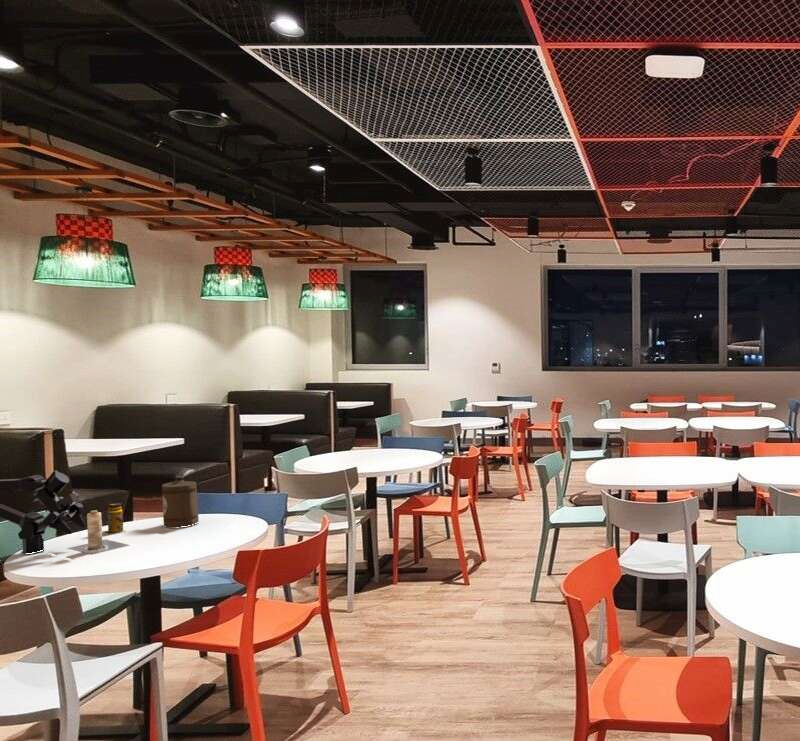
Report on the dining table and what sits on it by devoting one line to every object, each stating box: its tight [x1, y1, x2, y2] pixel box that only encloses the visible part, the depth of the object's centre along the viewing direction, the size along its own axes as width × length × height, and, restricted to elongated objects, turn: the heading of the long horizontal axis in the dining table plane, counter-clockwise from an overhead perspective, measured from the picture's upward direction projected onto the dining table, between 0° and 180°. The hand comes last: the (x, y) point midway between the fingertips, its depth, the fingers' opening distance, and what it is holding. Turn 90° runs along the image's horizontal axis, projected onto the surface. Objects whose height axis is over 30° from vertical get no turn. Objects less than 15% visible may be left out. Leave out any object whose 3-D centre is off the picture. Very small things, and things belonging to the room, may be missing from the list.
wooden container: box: [161, 474, 199, 528], centre depth 325 cm, size 15×15×22 cm
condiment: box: [102, 502, 127, 536], centre depth 315 cm, size 7×8×12 cm
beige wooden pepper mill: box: [86, 509, 103, 550], centre depth 280 cm, size 5×5×15 cm
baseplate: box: [67, 538, 130, 555], centre depth 286 cm, size 16×18×2 cm
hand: (78, 530), depth 281 cm, fingers open, 9 cm apart
